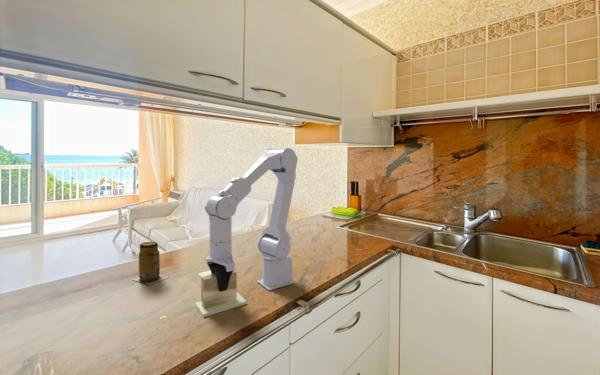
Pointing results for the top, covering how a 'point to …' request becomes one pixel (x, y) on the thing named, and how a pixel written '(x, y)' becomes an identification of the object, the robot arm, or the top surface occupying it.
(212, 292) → the tan wooden block
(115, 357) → the top surface
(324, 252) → the top surface
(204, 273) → the tile
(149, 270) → the condiment
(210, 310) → the rest board
